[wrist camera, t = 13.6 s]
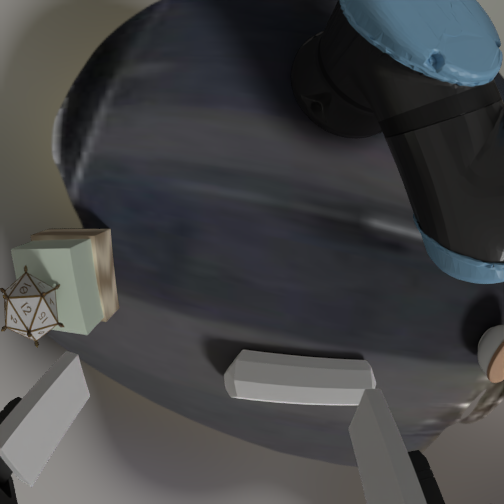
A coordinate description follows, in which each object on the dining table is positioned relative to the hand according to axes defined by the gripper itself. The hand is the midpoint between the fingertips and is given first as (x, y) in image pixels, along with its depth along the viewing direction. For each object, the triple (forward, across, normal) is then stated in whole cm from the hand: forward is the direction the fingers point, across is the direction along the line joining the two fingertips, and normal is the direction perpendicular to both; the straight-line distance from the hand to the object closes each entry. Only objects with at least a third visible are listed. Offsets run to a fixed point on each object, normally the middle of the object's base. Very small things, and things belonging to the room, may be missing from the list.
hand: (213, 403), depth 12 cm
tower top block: (+22, -25, -6) cm, 34 cm away
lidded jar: (+29, +49, -15) cm, 59 cm away
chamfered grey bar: (+28, +10, -20) cm, 36 cm away
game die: (+18, -24, -6) cm, 31 cm away
